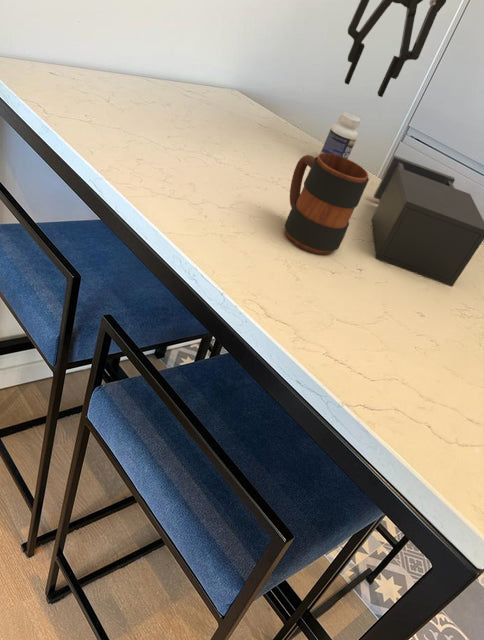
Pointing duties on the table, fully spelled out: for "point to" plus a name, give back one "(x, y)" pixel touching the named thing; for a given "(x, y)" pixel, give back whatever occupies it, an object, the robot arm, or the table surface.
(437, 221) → the charcoal bevelled cube
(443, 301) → the table surface
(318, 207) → the mug
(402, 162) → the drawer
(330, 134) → the pill bottle
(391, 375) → the table surface
